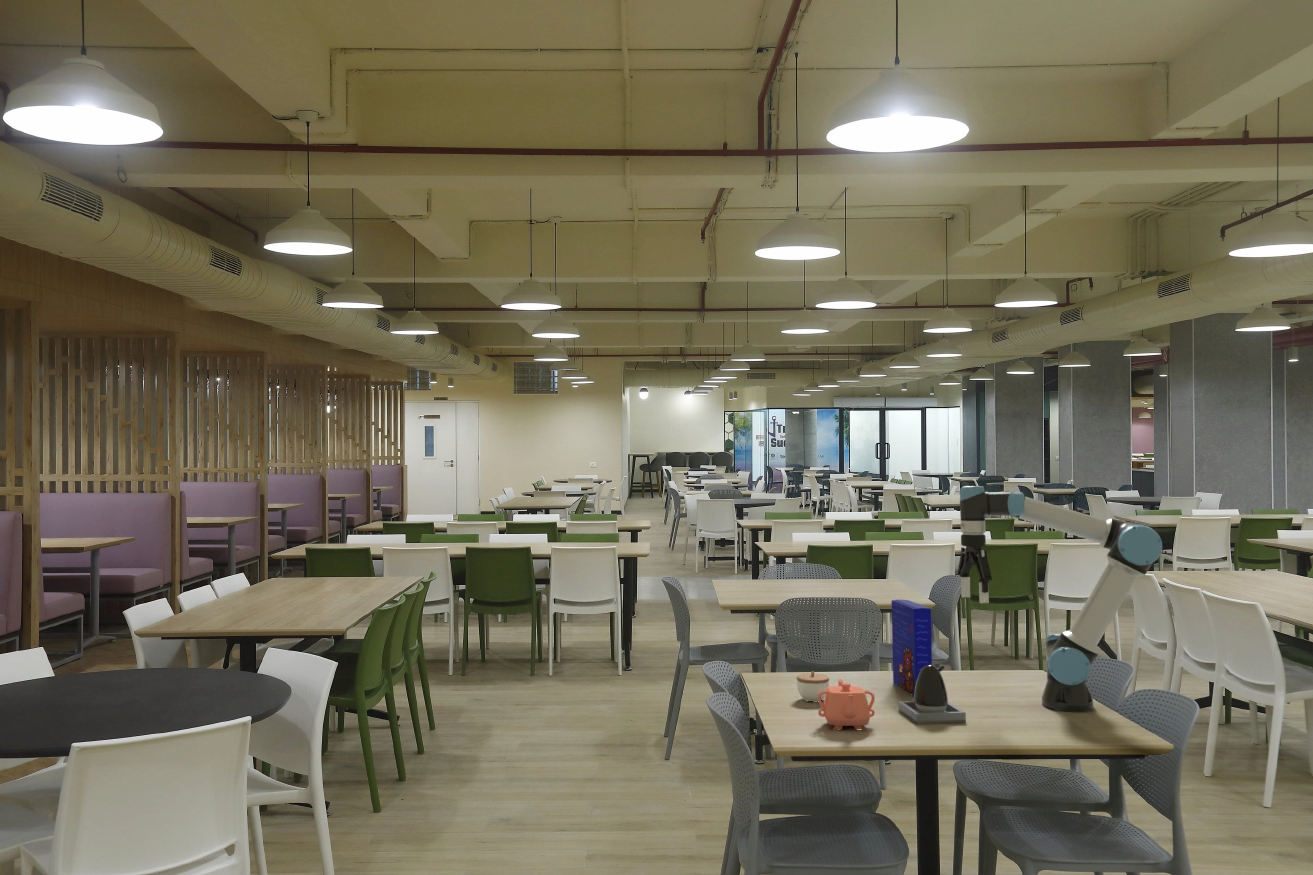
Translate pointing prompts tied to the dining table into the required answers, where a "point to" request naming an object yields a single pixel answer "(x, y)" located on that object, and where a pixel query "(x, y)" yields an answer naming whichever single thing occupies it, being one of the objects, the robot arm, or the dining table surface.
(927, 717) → the tray
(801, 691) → the lidded jar
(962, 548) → the robot arm
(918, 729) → the dining table surface
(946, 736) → the dining table surface
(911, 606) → the cereal box
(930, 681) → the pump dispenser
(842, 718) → the teapot
